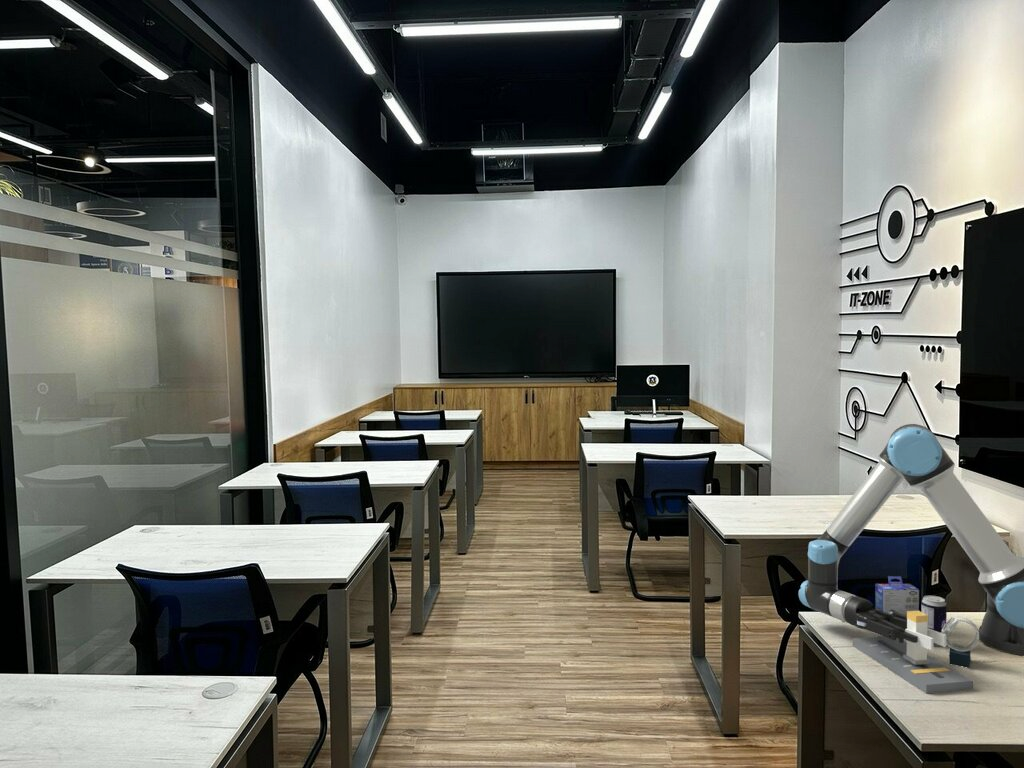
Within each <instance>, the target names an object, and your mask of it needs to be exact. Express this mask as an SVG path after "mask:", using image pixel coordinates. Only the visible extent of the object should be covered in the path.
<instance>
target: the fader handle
mask: <svg viewBox="0 0 1024 768" xmlns="http://www.w3.org/2000/svg"><path fill="white" fill-rule="evenodd" d="M927 623H928V615H926V614H924V613H922V612H921V611H920V610H919V611H907V629H910V630H913V631H915V632H918V633H921V634H923V635H926V636H927ZM906 642H907V654H903V658H905V659H906V660H908V661H910V662H911V663H913V664H914V665H920V664H930V660H929V659H927V654H928V649H926V648H924V647H921V646H919V645H916V644H914V643H911V642H909V641H906Z"/></svg>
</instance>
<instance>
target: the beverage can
mask: <svg viewBox="0 0 1024 768" xmlns="http://www.w3.org/2000/svg"><path fill="white" fill-rule="evenodd" d="M920 605H921V611H920V612H922V613H924V614H926V615H928V623H927V628H929V629H931V630H934V631H937V632H940V633H941V630H942V628H943V627H944V625H945V624H946V623H947V618H948V617H947V613H948V611H947V608H948V607H947V603H946V599H945V598H944V597H941V596H936V595H928V594H927V595H924V596H923V598H922V600H921V604H920ZM933 647H938V648H939V647H942V646H941V645H938V644H935V643H933Z"/></svg>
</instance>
